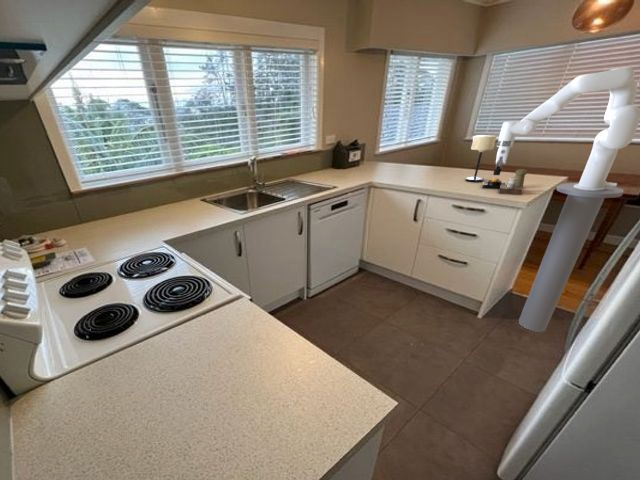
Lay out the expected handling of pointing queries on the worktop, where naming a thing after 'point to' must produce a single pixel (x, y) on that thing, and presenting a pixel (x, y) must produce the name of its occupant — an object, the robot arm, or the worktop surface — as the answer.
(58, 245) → the worktop surface
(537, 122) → the robot arm
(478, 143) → the lamp
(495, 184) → the switch block
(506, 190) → the dimmer panel
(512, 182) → the dimmer knob
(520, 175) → the olive upright piece
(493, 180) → the lamp button
